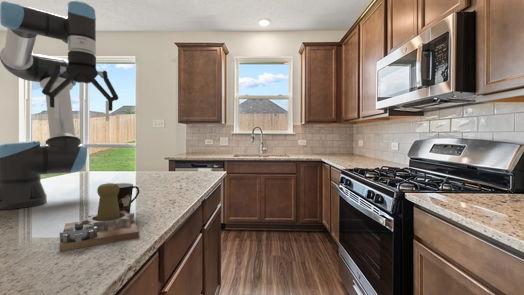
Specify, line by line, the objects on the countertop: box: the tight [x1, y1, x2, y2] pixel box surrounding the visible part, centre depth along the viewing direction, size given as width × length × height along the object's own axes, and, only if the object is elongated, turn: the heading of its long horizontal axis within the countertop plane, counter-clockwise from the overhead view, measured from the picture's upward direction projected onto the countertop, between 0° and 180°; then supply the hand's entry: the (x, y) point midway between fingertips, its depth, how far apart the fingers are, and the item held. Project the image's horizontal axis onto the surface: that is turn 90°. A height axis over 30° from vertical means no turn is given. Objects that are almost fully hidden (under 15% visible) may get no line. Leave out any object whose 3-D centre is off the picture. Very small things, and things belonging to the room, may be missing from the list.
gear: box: [59, 223, 97, 243], centre depth 63 cm, size 7×7×3 cm
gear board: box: [58, 211, 140, 252], centre depth 70 cm, size 17×16×4 cm
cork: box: [96, 182, 121, 221], centre depth 72 cm, size 6×6×11 cm
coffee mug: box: [116, 182, 140, 214], centre depth 85 cm, size 12×9×10 cm
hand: (83, 119), depth 86 cm, fingers open, 13 cm apart
